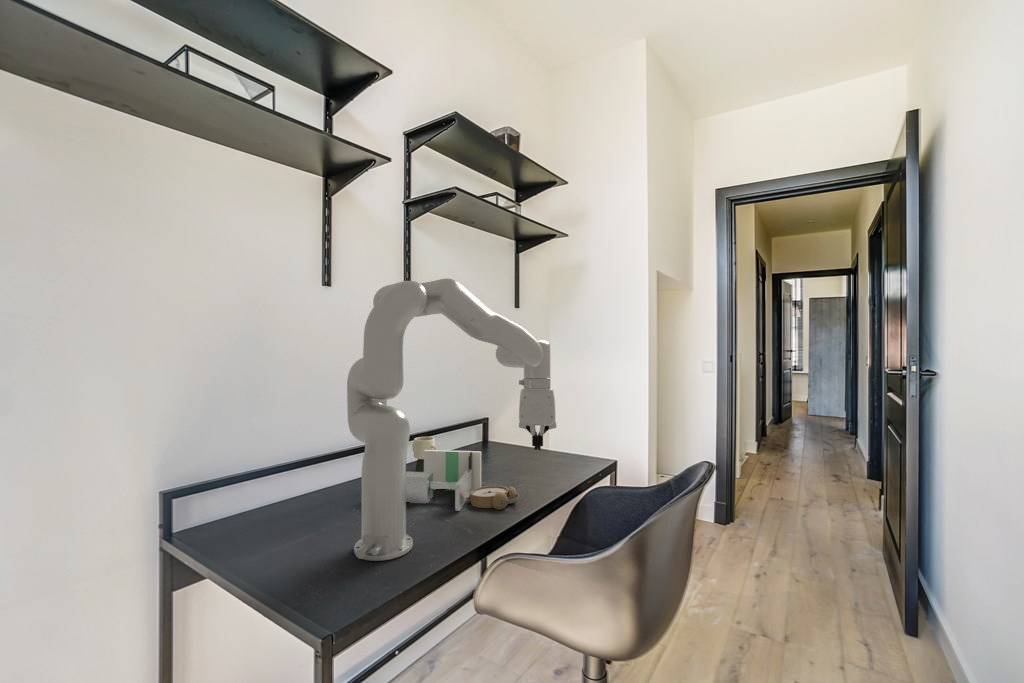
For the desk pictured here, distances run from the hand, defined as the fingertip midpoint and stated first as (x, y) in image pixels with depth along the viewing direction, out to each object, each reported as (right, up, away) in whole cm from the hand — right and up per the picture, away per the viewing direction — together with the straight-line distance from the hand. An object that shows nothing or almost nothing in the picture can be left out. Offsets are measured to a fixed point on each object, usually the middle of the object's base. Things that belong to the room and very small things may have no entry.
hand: (537, 448), depth 131 cm
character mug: (-37, -16, +27) cm, 49 cm away
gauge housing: (-37, -16, +4) cm, 40 cm away
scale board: (-26, -16, +13) cm, 33 cm away
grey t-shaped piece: (-26, -15, +3) cm, 30 cm away
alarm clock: (-12, -16, +1) cm, 20 cm away
